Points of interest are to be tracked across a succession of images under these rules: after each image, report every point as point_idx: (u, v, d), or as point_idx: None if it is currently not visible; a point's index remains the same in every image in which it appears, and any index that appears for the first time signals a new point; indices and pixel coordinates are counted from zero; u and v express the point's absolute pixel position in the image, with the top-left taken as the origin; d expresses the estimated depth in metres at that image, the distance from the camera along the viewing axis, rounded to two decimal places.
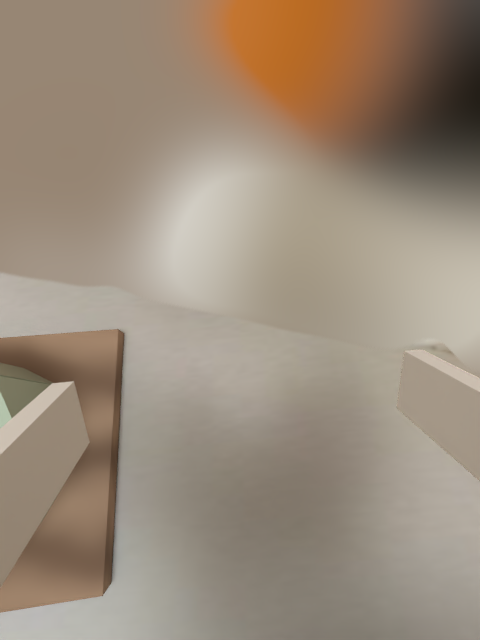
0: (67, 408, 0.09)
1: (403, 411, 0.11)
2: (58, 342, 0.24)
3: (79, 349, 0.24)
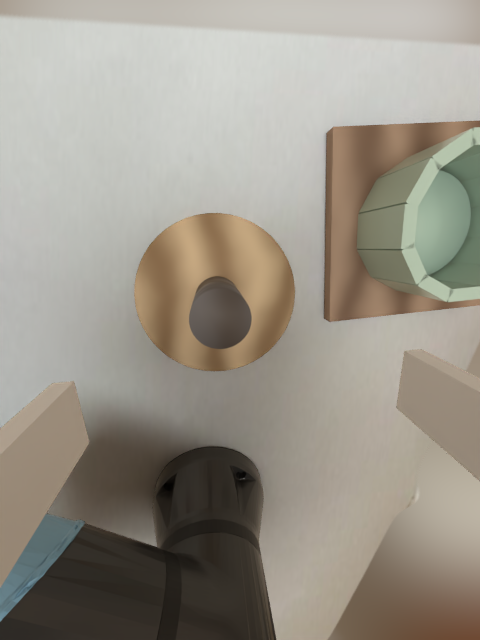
0: (67, 408, 0.09)
1: (403, 411, 0.11)
2: None
3: None
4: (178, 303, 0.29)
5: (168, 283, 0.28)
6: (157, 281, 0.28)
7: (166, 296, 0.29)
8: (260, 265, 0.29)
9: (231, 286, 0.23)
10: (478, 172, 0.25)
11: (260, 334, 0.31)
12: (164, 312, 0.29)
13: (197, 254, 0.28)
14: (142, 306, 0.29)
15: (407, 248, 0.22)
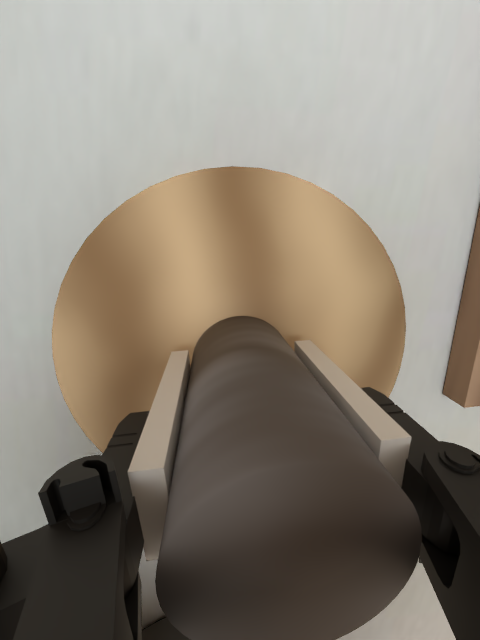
0: (188, 370, 0.11)
1: None
2: None
3: None
4: (154, 372, 0.13)
5: (132, 329, 0.12)
6: (106, 324, 0.12)
7: (127, 357, 0.13)
8: (340, 294, 0.13)
9: (308, 381, 0.07)
10: None
11: None
12: (124, 390, 0.13)
13: (201, 265, 0.12)
14: (73, 379, 0.13)
15: None
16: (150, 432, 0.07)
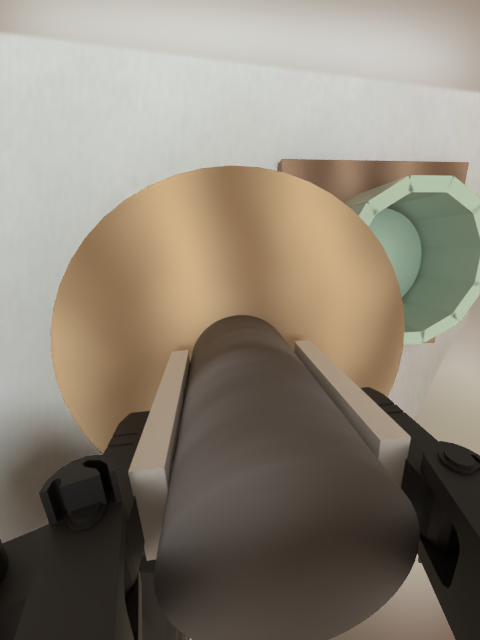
0: (188, 369, 0.11)
1: None
2: None
3: None
4: (153, 371, 0.13)
5: (131, 329, 0.12)
6: (105, 324, 0.12)
7: (126, 356, 0.13)
8: (339, 293, 0.13)
9: (306, 380, 0.07)
10: (425, 214, 0.25)
11: None
12: (123, 389, 0.13)
13: (199, 265, 0.12)
14: (71, 378, 0.13)
15: None
16: (150, 432, 0.07)
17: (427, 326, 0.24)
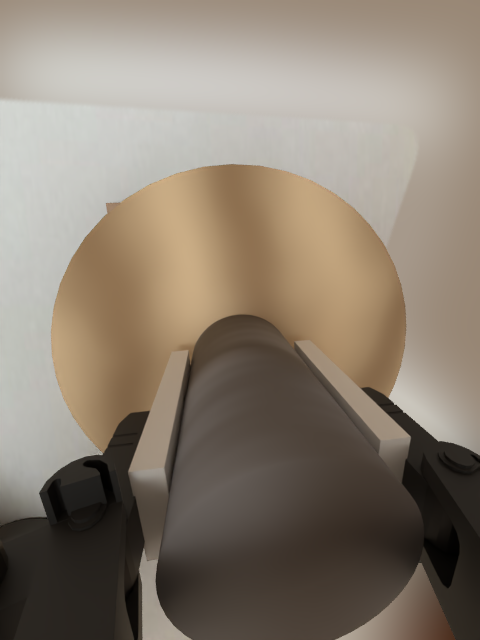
0: (188, 370, 0.11)
1: None
2: None
3: None
4: (154, 371, 0.13)
5: (131, 328, 0.12)
6: (105, 323, 0.12)
7: (127, 356, 0.13)
8: (340, 292, 0.13)
9: (309, 379, 0.07)
10: None
11: None
12: (124, 389, 0.13)
13: (200, 264, 0.12)
14: (72, 378, 0.13)
15: None
16: (150, 432, 0.07)
17: None
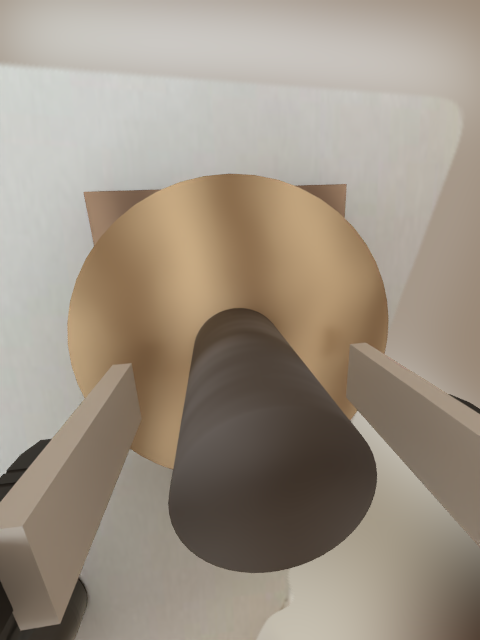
0: (128, 385, 0.10)
1: (350, 399, 0.12)
2: None
3: None
4: (159, 359, 0.14)
5: (139, 320, 0.14)
6: (116, 316, 0.13)
7: (135, 345, 0.14)
8: (328, 288, 0.14)
9: (293, 358, 0.09)
10: None
11: None
12: None
13: (201, 262, 0.13)
14: (85, 365, 0.14)
15: None
16: (33, 473, 0.06)
17: None
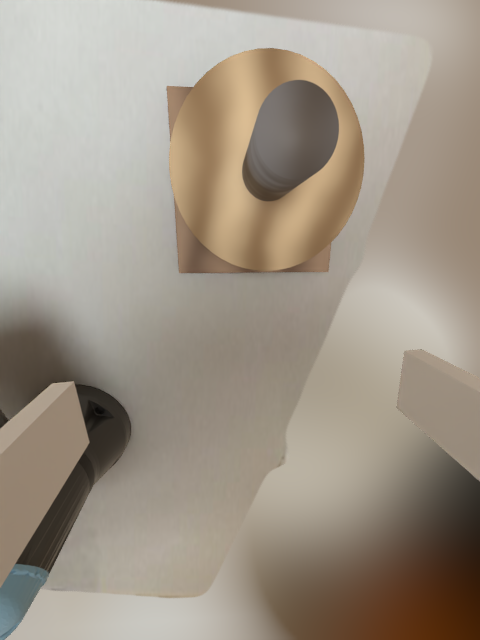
0: (67, 408, 0.09)
1: (403, 411, 0.11)
2: None
3: None
4: (221, 172, 0.24)
5: (212, 142, 0.23)
6: (199, 137, 0.23)
7: (208, 160, 0.23)
8: None
9: None
10: None
11: (314, 228, 0.26)
12: (203, 182, 0.24)
13: (252, 106, 0.22)
14: (177, 170, 0.23)
15: None
16: None
17: None
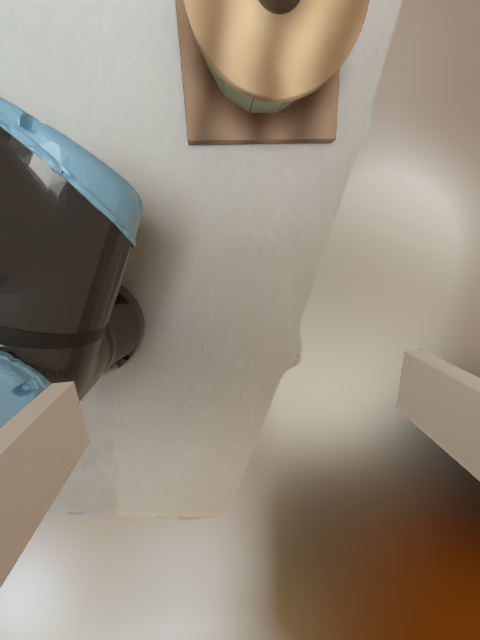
0: (67, 408, 0.09)
1: (403, 411, 0.11)
2: (332, 90, 0.34)
3: (325, 108, 0.34)
4: None
5: None
6: None
7: None
8: None
9: None
10: None
11: (325, 46, 0.26)
12: None
13: None
14: None
15: None
16: None
17: None
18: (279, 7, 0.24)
